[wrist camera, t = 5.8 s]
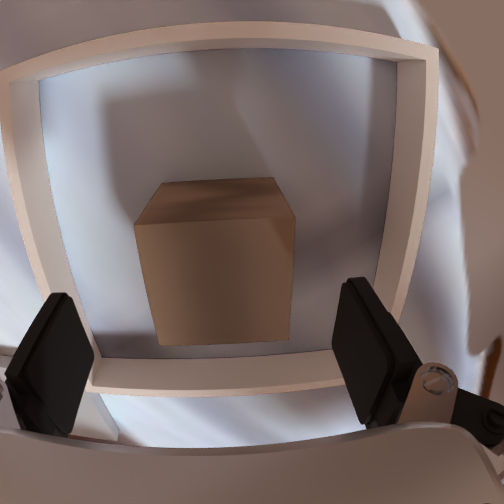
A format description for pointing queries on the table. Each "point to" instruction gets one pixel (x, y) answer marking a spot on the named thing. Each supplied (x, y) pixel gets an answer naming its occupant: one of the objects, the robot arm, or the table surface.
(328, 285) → the table surface
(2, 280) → the table surface
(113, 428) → the display stand
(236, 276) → the walnut block
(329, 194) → the table surface
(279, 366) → the beige square frame
